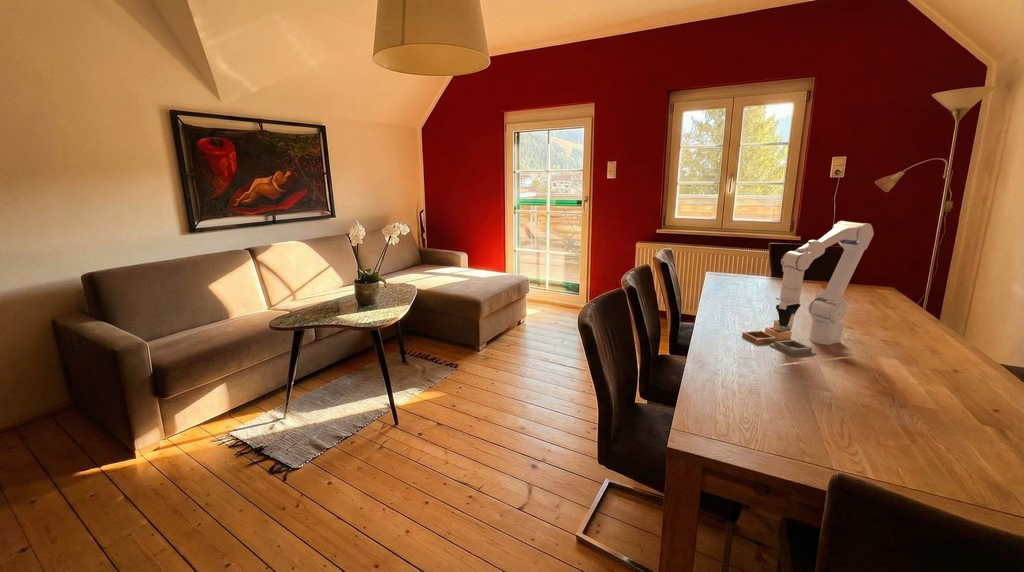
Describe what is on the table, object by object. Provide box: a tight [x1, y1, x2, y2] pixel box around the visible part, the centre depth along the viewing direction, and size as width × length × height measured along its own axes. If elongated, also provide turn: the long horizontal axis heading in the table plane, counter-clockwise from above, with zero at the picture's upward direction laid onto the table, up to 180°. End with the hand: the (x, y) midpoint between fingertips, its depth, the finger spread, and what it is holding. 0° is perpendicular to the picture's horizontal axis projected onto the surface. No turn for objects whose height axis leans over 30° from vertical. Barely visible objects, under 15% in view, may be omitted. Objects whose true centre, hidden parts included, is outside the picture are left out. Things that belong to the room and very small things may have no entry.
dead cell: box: [772, 319, 784, 332], centre depth 161 cm, size 4×4×6 cm
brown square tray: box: [741, 330, 778, 345], centre depth 159 cm, size 8×8×2 cm
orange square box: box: [764, 326, 793, 341], centre depth 162 cm, size 6×6×3 cm
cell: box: [779, 313, 796, 332], centre depth 150 cm, size 4×4×6 cm
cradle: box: [769, 339, 817, 358], centre depth 150 cm, size 10×10×3 cm
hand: (785, 324), depth 150 cm, fingers closed on cell, 4 cm apart
